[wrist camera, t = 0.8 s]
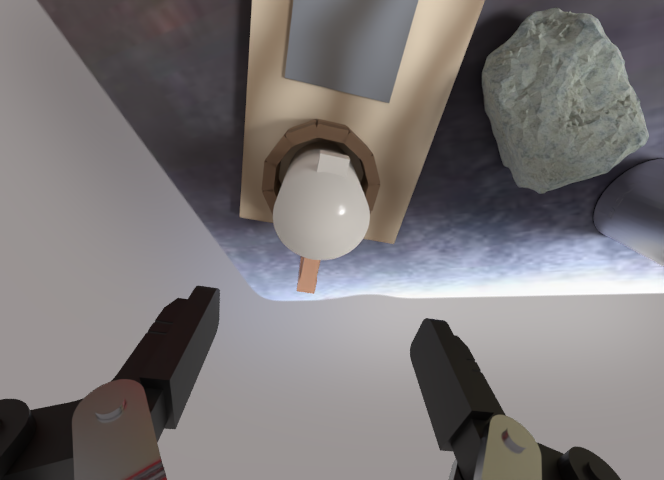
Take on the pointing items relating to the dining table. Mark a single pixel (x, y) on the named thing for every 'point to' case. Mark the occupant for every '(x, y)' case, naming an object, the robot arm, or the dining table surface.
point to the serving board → (350, 93)
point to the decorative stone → (561, 101)
